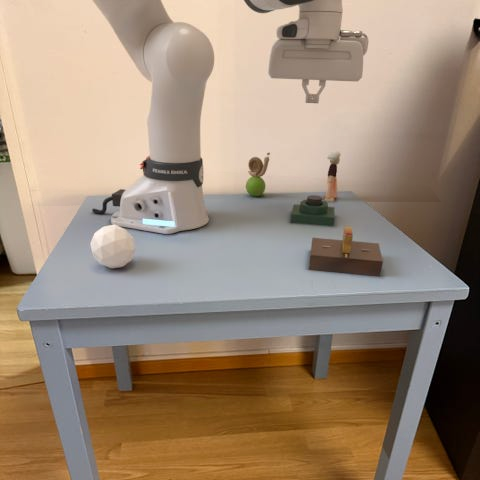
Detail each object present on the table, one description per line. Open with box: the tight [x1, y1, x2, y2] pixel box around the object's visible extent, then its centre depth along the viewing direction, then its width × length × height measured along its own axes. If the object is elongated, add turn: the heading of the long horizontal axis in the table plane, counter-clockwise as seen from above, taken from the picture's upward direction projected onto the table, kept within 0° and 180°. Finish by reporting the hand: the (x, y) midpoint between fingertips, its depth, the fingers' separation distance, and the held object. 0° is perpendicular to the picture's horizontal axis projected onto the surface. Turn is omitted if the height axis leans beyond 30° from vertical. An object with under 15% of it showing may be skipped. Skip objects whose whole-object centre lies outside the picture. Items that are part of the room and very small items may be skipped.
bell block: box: [290, 199, 335, 227], centre depth 109 cm, size 10×8×4 cm
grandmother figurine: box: [324, 150, 341, 203], centre depth 122 cm, size 8×4×13 cm, turn 179°
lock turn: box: [341, 226, 354, 253], centre depth 85 cm, size 5×1×4 cm, turn 170°
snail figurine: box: [245, 151, 271, 197], centre depth 123 cm, size 5×6×12 cm
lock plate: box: [308, 237, 384, 277], centre depth 87 cm, size 13×9×3 cm
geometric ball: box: [89, 224, 136, 270], centre depth 82 cm, size 8×8×8 cm
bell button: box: [306, 194, 323, 206], centre depth 108 cm, size 4×4×2 cm
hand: (311, 103), depth 102 cm, fingers closed
